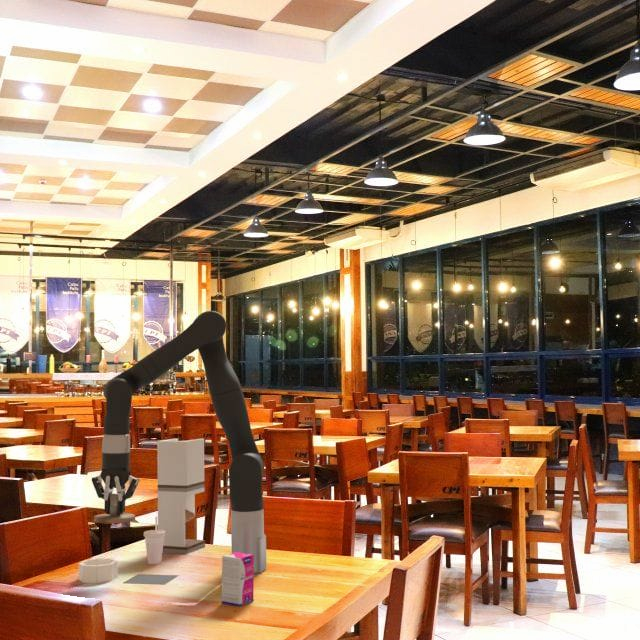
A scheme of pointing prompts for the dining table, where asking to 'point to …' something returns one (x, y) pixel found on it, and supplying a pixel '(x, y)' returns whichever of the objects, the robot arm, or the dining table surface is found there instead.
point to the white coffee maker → (179, 491)
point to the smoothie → (154, 544)
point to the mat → (151, 579)
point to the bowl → (98, 570)
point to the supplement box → (237, 578)
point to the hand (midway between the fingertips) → (114, 513)
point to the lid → (114, 513)
